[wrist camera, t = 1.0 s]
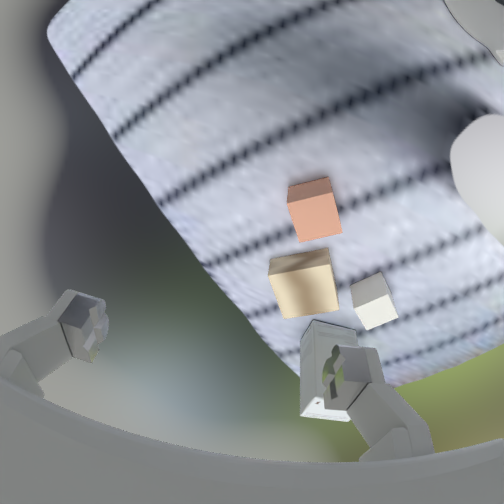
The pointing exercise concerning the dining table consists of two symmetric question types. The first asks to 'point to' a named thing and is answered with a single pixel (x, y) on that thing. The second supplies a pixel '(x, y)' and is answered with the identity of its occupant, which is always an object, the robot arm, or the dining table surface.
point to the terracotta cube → (313, 210)
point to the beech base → (304, 283)
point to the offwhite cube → (373, 301)
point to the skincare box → (320, 367)
